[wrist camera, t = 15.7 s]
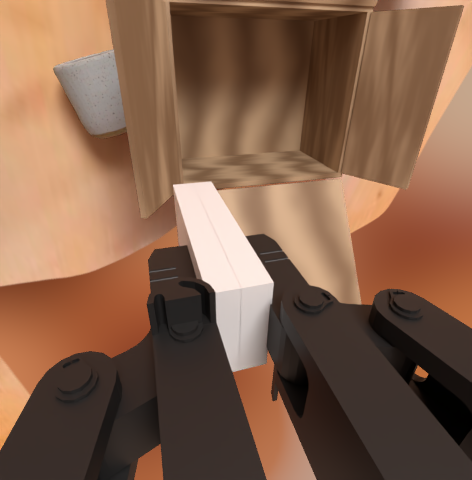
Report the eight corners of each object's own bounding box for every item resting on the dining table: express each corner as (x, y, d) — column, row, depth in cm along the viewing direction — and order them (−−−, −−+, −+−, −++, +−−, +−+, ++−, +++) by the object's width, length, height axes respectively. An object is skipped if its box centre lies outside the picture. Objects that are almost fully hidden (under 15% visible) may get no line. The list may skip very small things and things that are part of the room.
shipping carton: (138, 164, 44) (141, 225, 29) (99, -92, 31) (66, -239, 16) (323, 150, 52) (408, 194, 36) (356, -62, 38) (513, -142, 23)
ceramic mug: (93, 133, 41) (87, 148, 35) (58, 64, 36) (44, 66, 30) (170, 108, 42) (178, 117, 36) (145, 38, 38) (149, 34, 31)
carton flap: (182, 193, 35) (181, 195, 36) (203, 346, 35) (202, 344, 35) (341, 178, 40) (338, 179, 41) (362, 312, 40) (359, 311, 40)
